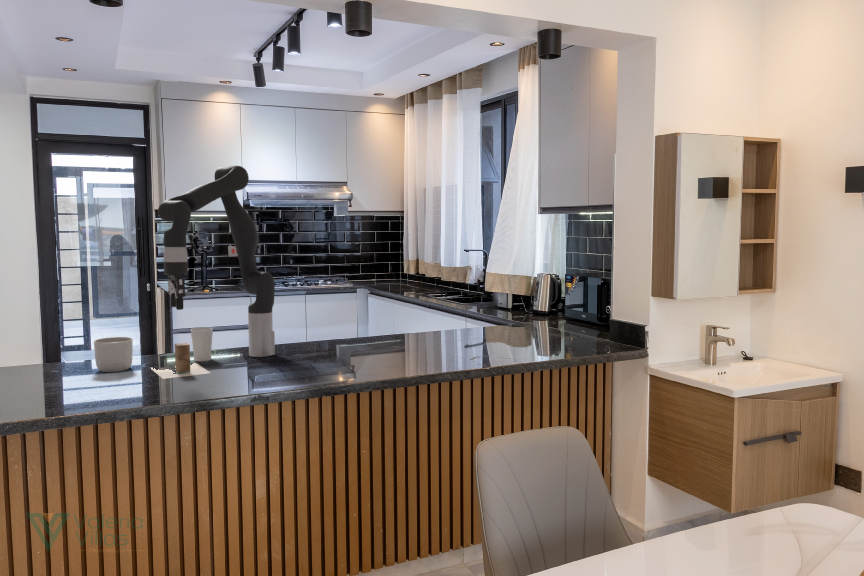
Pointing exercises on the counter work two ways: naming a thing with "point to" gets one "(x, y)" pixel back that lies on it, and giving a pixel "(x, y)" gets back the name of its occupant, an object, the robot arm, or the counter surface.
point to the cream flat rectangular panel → (194, 370)
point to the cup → (202, 343)
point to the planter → (113, 353)
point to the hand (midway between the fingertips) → (177, 308)
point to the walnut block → (182, 358)
